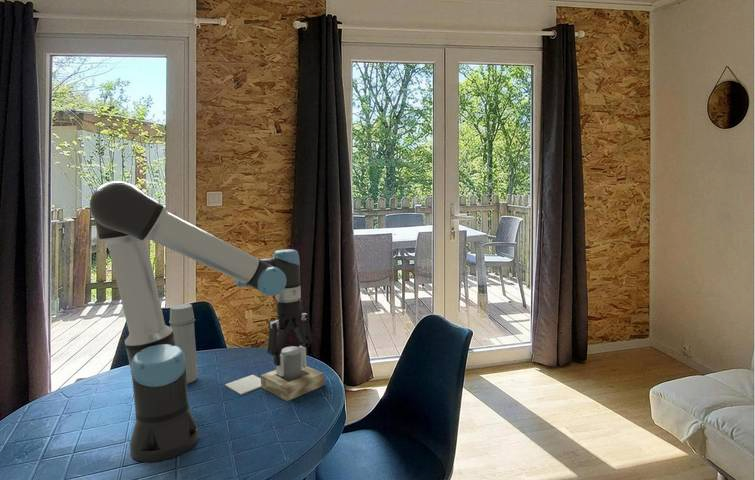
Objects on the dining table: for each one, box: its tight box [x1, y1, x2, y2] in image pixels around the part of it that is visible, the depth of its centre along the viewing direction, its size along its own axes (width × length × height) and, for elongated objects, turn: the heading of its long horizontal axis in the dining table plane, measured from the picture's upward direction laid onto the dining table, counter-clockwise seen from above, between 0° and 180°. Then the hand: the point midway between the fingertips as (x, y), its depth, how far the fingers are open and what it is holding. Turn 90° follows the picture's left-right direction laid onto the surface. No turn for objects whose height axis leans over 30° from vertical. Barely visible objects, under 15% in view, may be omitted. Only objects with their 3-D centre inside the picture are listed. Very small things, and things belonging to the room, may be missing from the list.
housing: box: [260, 366, 325, 402], centre depth 140 cm, size 14×14×4 cm
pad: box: [224, 374, 262, 396], centre depth 142 cm, size 10×10×1 cm
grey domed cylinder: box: [281, 345, 302, 382], centre depth 139 cm, size 6×6×12 cm
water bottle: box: [168, 303, 199, 385], centre depth 145 cm, size 9×8×25 cm
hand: (291, 370), depth 139 cm, fingers open, 8 cm apart
